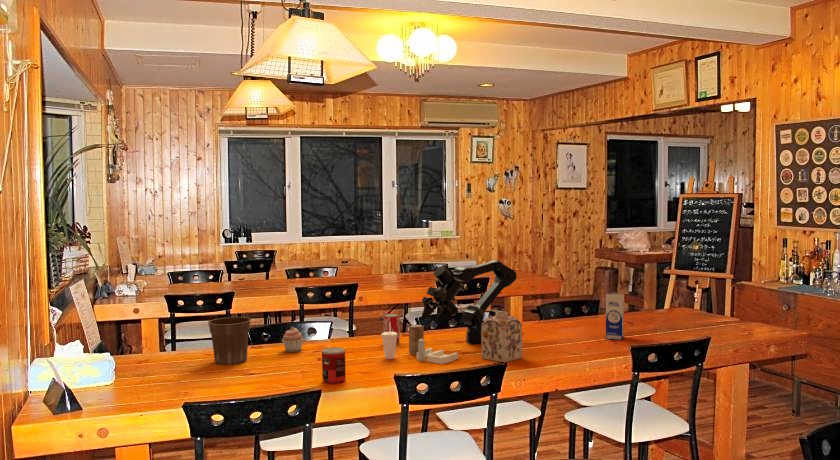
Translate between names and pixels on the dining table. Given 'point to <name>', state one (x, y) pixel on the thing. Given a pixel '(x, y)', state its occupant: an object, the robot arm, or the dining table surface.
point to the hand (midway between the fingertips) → (428, 321)
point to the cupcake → (293, 340)
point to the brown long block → (415, 337)
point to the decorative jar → (501, 338)
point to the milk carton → (614, 316)
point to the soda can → (392, 324)
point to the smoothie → (389, 343)
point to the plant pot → (230, 339)
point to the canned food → (333, 365)
